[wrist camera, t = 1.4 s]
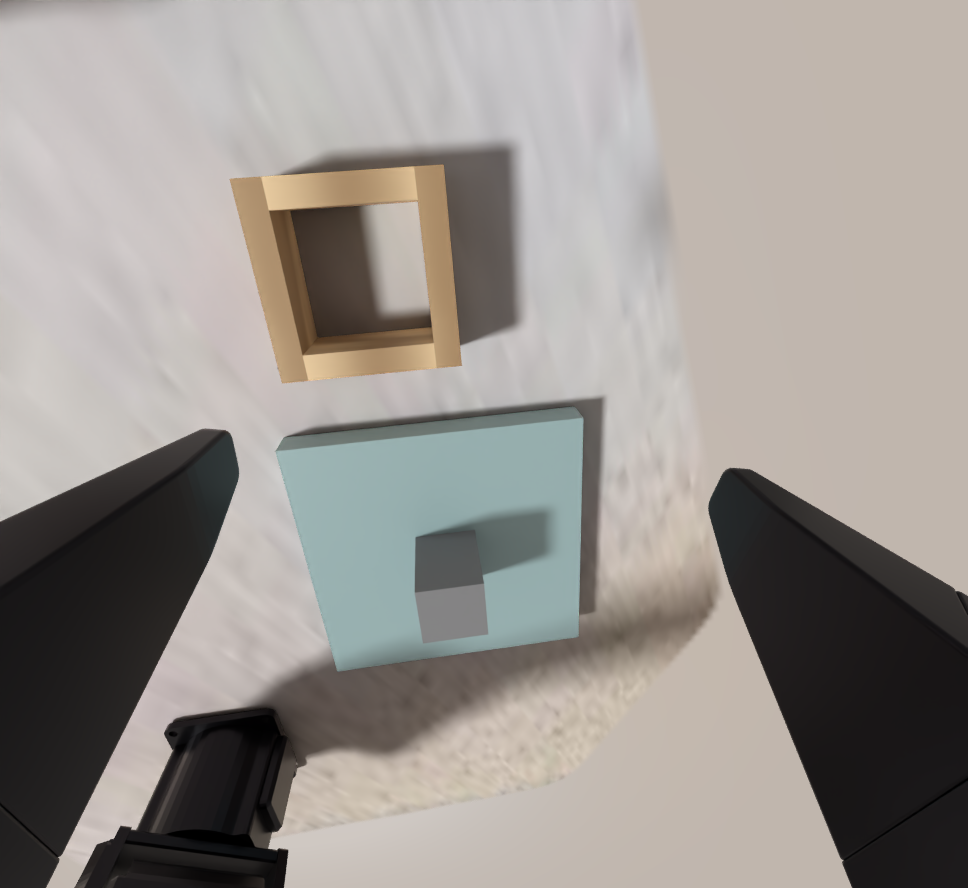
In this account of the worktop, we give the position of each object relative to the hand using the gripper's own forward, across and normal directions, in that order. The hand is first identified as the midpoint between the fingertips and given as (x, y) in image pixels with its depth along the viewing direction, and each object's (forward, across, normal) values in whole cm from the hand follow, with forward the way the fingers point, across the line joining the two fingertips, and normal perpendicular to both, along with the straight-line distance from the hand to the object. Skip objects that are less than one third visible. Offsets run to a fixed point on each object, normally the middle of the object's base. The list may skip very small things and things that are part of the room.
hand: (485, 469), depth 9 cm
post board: (+12, 0, +14) cm, 18 cm away
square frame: (+14, +4, +1) cm, 15 cm away
